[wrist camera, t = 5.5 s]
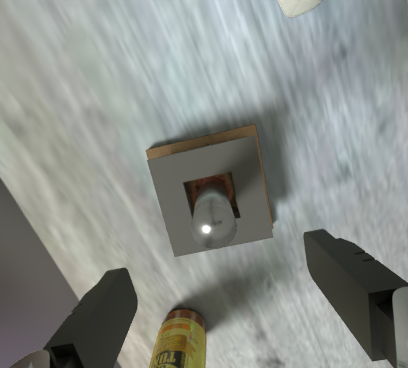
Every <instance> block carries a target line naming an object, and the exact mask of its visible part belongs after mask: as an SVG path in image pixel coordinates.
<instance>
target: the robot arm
mask: <svg viewBox="0 0 408 368" xmlns="http://www.w3.org/2000/svg"><path fill="white" fill-rule="evenodd" d="M304 245H305V252H306V260H307V266H308V270H309V272H310V275H311V277H312V279H313V280H314V282H315V283H316V284H317V286H318V287H319V289H320V290H321V291H322V293H323V294H324V295H325V297H326V298H327V300H328V301H329V302H330V304H331V305H332V306H333V308H334V309H335V311H336V312H337V313H338V315H339V316H340V317H341V319H342V320H343V322H344V323H345V324H346V326H347V327H348V328H349V330H350V331H351V333H352V334H353V335H354V337H355V338H356V339H357V341H358V342H359V344H360V345H361V346H362V348H363V349H364V350H365V352H366V353H367V355H368V356H369V357H370V359H371V360H372V361H378V360H385V359H387V360H388V361H389V362H390V364H391V365H392V366H393V367H394V368H408V283H407V282H406V281H405V280H403V279H402V278H400V277H399V276H398V275H396V274H395V273H394V272H392V271H391V270H390V269H388V268H387V267H386V266H384V265H383V264H382V263H380V262H379V261H377V260H375V259H374V258H373V257H372V256H371V255H369V254H368V253H365V251H364V250H363V249H361V248H360V247H359V246H357V245H356V244H355V243H352V242H349V241H347V240H344V239H342V238H338V239H335V238H334V237H333V236H332V235H330V234H329V233H328V232H327V231H326V230H324V229H319V230H314V231H309V232H305V233H304ZM137 305H138V300H137V295H136V292H135V289H134V286H133V284H132V281H131V278H130V275H129V272H128V270H127V269H126V268H119V269H114V270H109V271H107V272H106V273H105V274H104V276H103V277H102V278H101V280H100V281H99V282H98V284H97V285H95V286H94V287H93V288H92V289H91V290H89V291H88V292H87V293H86V294H85V295H84V296H83V298H82V299H81V300H80V302H79V303H78V304H77V307H75V308H74V310H73V311H72V312H71V315H69V316H68V317H67V319H66V320H65V321H64V322H63V324H62V325H61V326H60V328H59V329H58V330H57V331H56V333H55V334H54V335H53V337H52V338H51V339H50V340H49V342H48V343H47V344H46V346H45V347H44V348H43V349H42V350H38V351H35V352H32V353H30V354H28V355H26V356H24V357H23V358H21V359H20V360H18V361H17V362H15V363H14V364H13V365H12V366H10V367H9V368H113V367H114V365H115V362H116V360H117V357H118V355H119V353H120V350H121V348H122V345H123V343H124V340H125V338H126V335H127V333H128V330H129V328H130V326H131V323H132V321H133V318H134V316H135V313H136V311H137Z"/></svg>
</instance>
